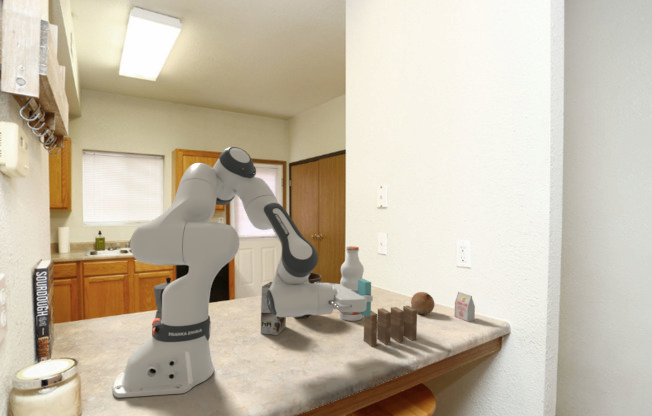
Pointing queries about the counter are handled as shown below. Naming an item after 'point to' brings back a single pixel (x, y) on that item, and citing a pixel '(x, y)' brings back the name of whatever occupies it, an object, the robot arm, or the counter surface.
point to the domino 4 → (410, 323)
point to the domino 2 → (384, 326)
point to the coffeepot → (160, 297)
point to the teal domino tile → (363, 290)
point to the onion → (422, 303)
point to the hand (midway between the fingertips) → (366, 295)
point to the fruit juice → (351, 278)
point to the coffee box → (270, 316)
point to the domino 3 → (397, 324)
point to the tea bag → (464, 307)
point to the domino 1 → (370, 329)
